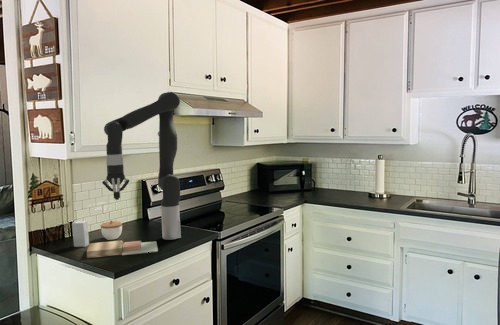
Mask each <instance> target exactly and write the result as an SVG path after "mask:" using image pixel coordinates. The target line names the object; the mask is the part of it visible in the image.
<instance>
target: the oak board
mask: <svg viewBox="0 0 500 325" xmlns="http://www.w3.org/2000/svg"><path fill="white" fill-rule="evenodd" d="M123 245H124V240H121V239H120V240H109V241H100V242H92V243H91V242H89V245H88V246H87V249H86V259H91V258H101V257H109V256H110V257H113V256H119V255H120V256H122V250H123Z"/></svg>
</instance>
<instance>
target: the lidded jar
mask: <svg viewBox="0 0 500 325" xmlns="http://www.w3.org/2000/svg"><path fill="white" fill-rule="evenodd" d="M100 231H101V234H102V236H103V238H104V239H106V241H107V240H109V241H115V240H116V239H119V237H120V236H121V234H122V231H123V222H121V221H117V220H115V221H113V220H110V221H106V222H103V223H101V224H100Z"/></svg>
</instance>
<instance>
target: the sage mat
mask: <svg viewBox="0 0 500 325" xmlns="http://www.w3.org/2000/svg"><path fill="white" fill-rule="evenodd" d="M158 251H159V248H158V244H157V241H145V242H141V250H136V251H126V252H123V250H122V254H121V256H127V255H138V254H149V253H157V252H158ZM148 252H149V253H148Z"/></svg>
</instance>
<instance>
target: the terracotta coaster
mask: <svg viewBox="0 0 500 325" xmlns="http://www.w3.org/2000/svg"><path fill="white" fill-rule="evenodd" d="M141 243H142V240H133V241H125V242H124V241H123V252H126V251H136V250H141Z"/></svg>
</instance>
